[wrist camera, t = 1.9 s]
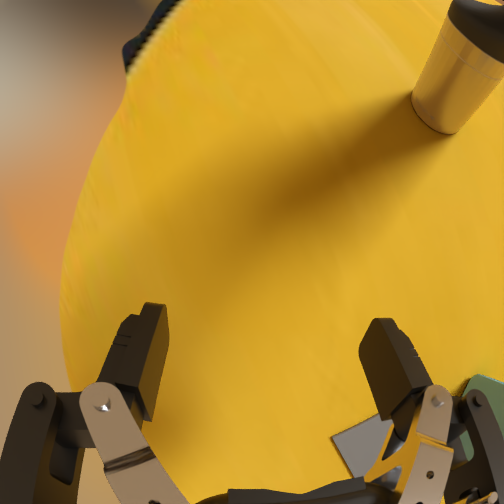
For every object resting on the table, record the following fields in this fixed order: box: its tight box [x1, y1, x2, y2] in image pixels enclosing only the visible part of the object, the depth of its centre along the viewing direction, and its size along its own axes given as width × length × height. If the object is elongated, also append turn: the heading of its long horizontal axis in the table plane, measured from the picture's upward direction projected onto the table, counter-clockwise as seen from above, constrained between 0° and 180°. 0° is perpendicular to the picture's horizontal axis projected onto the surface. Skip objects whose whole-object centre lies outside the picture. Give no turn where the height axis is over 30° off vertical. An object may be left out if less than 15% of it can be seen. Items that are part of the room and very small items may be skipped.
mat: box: [332, 413, 393, 478], centre depth 25 cm, size 14×18×1 cm
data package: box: [460, 374, 504, 461], centre depth 18 cm, size 12×4×12 cm, turn 156°
